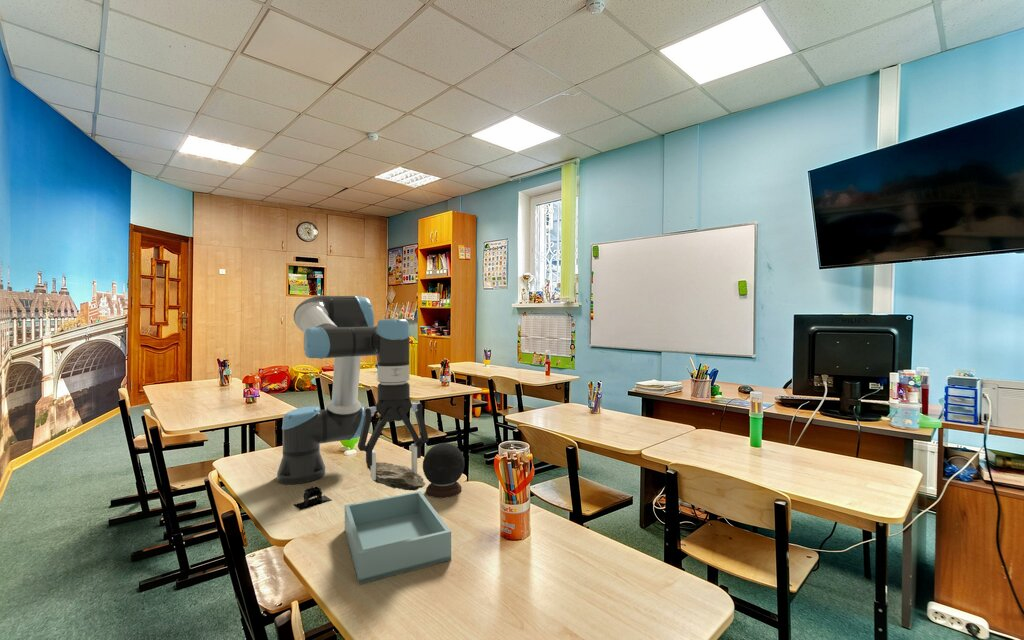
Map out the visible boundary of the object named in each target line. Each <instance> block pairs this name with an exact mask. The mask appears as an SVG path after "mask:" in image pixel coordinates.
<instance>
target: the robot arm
mask: <svg viewBox="0 0 1024 640" xmlns="http://www.w3.org/2000/svg"><path fill="white" fill-rule="evenodd" d="M293 322H294V324H295V325H296V327H297V328H298V330H300V331H302V332H303V351H304V355H305V357H306V358H308V359H319V360H323V359H332V358H333V359H334V361H333V362H334V363H333V375H332V376H333V377H332V391H331V400H330V401H329V402H327V403H326V404H327V405H326V409H321V408H320V407H319V406H318V405H312V406H303V407H300V408H295V409H292V410H290V411H288V412H286V413H285V414H284V415H283V417H282V426H281V430H282V457H281V461H280V463H279V466H278V469H277V473H276V481H277V482H278V483H280V484H284V485H285V484H286V485H287V484H288V485H296V484H304V483H309V482H312V481H316V480H318V479H321V478H322V477H323V476H325V475H326V465H325V461H324V459H323V457H322V454H321V450H320V448H321V447H320V446H321V444H327V443H334V442H342V441H350V440H354V439H358V438H359V440H358V443H357V448H358V450H359V451H360V452H365V463H366V466H367V465H368V466H371V472H370V478H371V480H372V481H373V480H376V462H377V461H376V459H377V457H376V455H377V453H376V450H375V449H374V448H375V447H376V444H377V442H378V441H379V438H380V436H381V434H382V432H383V430H384V428H385V427H386V425H387V423H392V422H401V421H402V422H403V424H404V426H405V427H406V430H407V432H408V434H409V435H410V437H411V439H412V441H413V442H414V443H411V445H410V446H411V447H410V448H411V449H410V451H411V454H410V455H411V460H410V461H411V470H412V471H413V473H418V459H421V457H422V446H423V444H424V443H428V442H429V435H428V431H427V428H426V427H427V426H426V423H425V420H424V419H425V418H424V415H423V410H424V409H423V407H424V405H423V404H422V403H421V402H419V401H417V402H411V399H410V389H411V387H410V386H411V385H410V383H409V382H408V381H410V336H411V332H410V324H409V321H408V320H407V319H405V318H403V319H402V318H401V319H400V318H399V319H398V318H397V319H396V318H392V319H389V318H386V319H385V318H383V319H379V320H378V321H377V325H375V315H374V309H373V305H372V302H371V301H370V299H369V298H368V297H366V296H357V295H317V296H313V297H309V298H307V299H305V300H303V301H301V302H300V303H299V304H298V305H297V306H296V307H295V309H294V312H293ZM370 356H372V357H373V356H377V382H379V383H378V384H377V402H376V405H373V406H370V407H368V406H363V405H362V403H361V402H360V400H359V398H358V396H359V386H360V385H359V383H360V371H361V361H362V360H361V358H362V357H370ZM411 409H412V411H413V412H414V414H415V419H416V423H417V426H418V430H419V434H420V437H419V435H418V433H417V432H416V430H415V428H414V426H413V424H412V423H411V421H410V418H409V416H408V415H407V414H408V413H410V410H411ZM376 412H377V413H378V414H379V417H378V420H377V424H376V426H375V427H374V429H373V431H372V434H371V436H370V438H369V440H368V441H367V438H368V435H369V432H370V427H371V423H372V417H374V415H375V413H376Z"/></svg>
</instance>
